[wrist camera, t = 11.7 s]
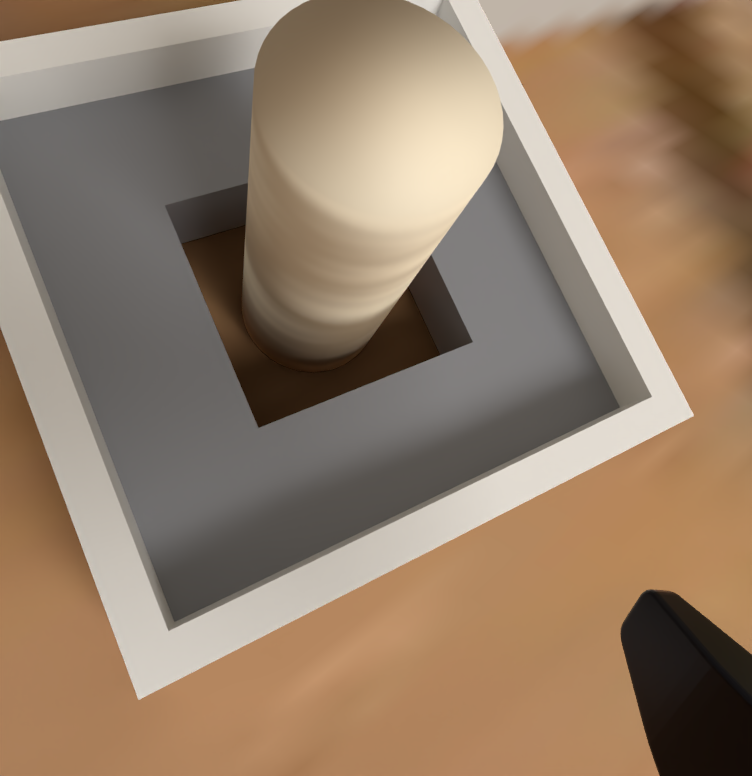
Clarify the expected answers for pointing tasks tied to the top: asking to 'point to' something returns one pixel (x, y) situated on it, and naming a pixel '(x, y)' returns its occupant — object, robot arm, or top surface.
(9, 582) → the top surface
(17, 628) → the top surface
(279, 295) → the peg
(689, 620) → the robot arm
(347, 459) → the bore box
